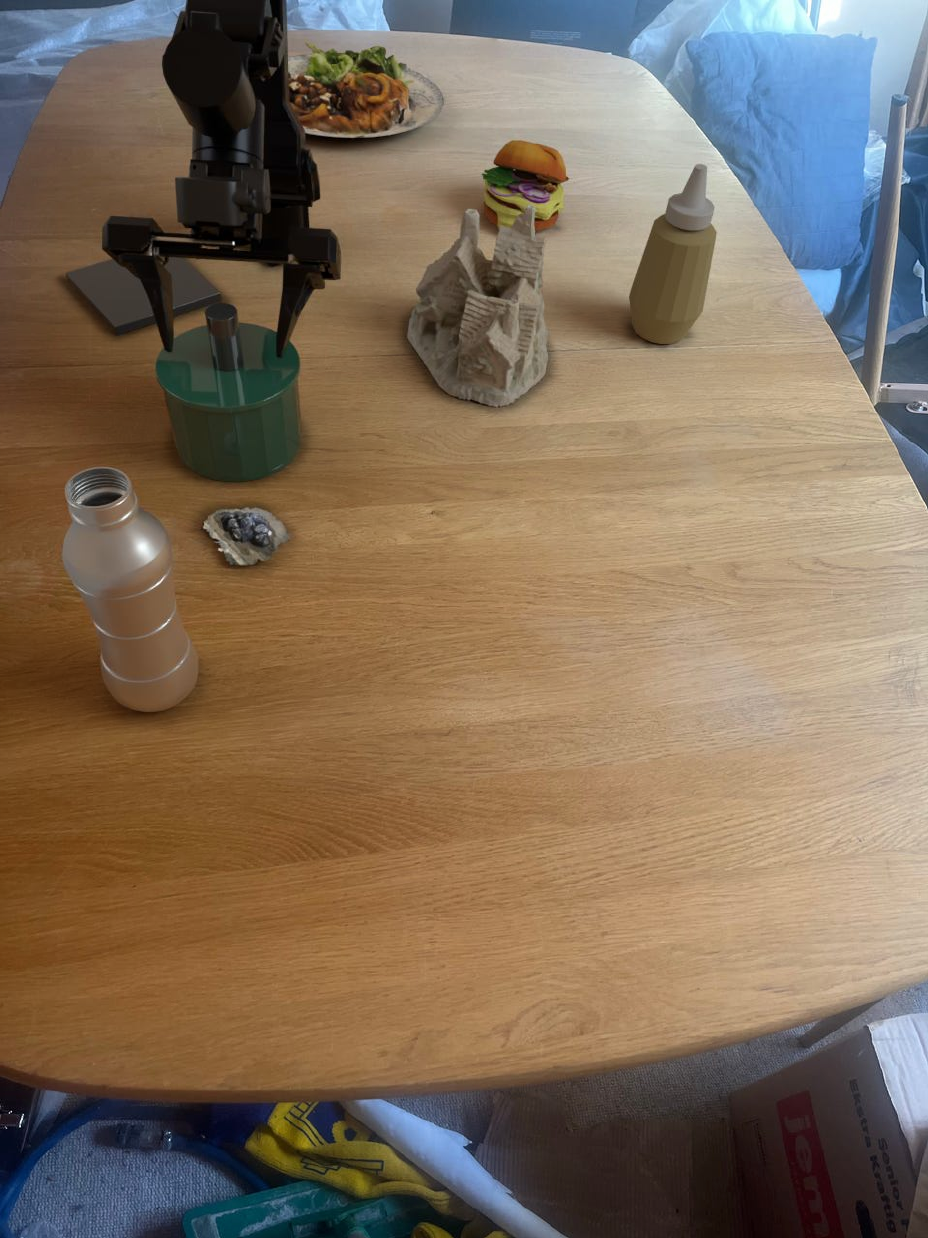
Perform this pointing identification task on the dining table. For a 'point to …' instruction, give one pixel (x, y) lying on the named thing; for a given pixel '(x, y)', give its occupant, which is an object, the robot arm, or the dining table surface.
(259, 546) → the grey lumpy flat piece
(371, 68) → the plate of food
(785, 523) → the dining table surface
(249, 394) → the pot lid
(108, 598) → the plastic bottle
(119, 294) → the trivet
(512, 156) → the cheeseburger
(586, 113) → the dining table surface
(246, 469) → the pot
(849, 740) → the dining table surface
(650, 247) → the squeeze bottle
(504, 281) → the ceramic cottage
